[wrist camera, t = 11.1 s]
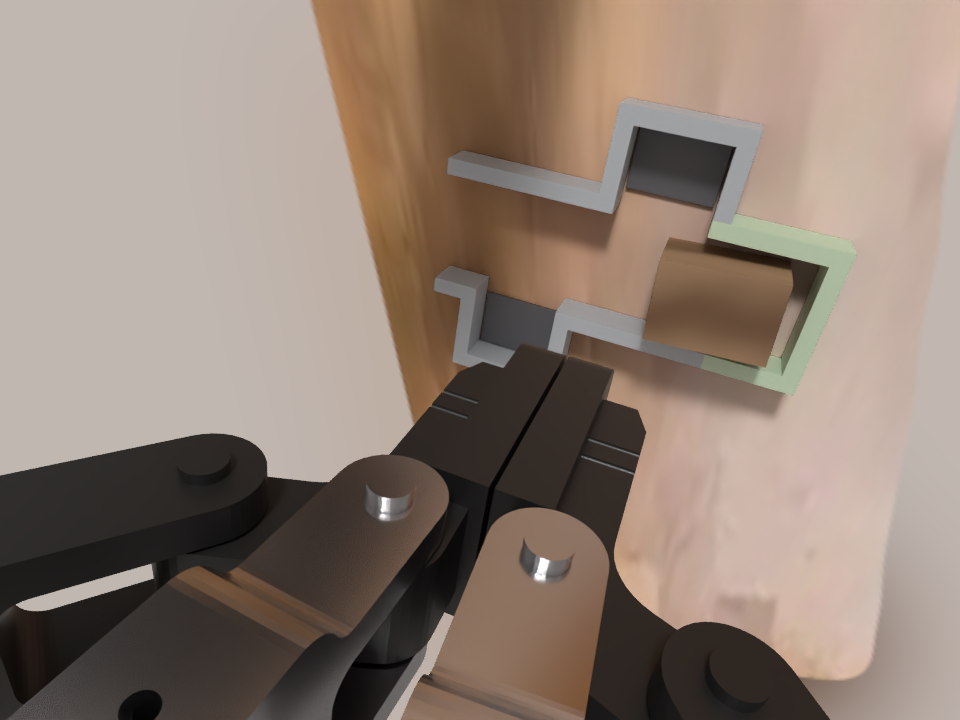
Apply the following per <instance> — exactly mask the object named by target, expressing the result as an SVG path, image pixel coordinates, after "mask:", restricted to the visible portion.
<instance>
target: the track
mask: <svg viewBox="0 0 960 720" xmlns="http://www.w3.org/2000/svg"><path fill="white" fill-rule="evenodd" d="M639 127H641V129H640V133H639V137H638V141H637V145H636V149H635V153H634V157H633V161H632V165H631V169H630V173H629V177H628V181H627V185H626V187H627V188H631V189H635V190H639V191H644V192H648V193H652V194H657V195H661V196H665V197H669V198H674V199H678V200H682V201H687V202H691V203H695V204H699V205H704V206H708V207H712V208H713V207H714V204H715V201H716V198H717V195H718V192H719V189H720V186H721V183H722V179H723V176H724V173H725V170H726V167H727V164H728V161H729V158H730V155H731V152H732V148H733V147H736V148H735V151H734V154H733V157H732V160H731V163H730V167H729V170H728V173H727V176H726V179H725V182H724V185H723V188H722V191H721V194H720V197H719V200H718V204H717V207H716V210H715V213H714V216H713V219H712V222H711V225H710V229H709V233H708V237H707V238H711V239H716V240H720V241H724V242H728V243H732V244H736V245H740V246H744V247H748V248H752V249H756V250H761V251H765V252H769V253H773V254H777V255H781V256H785V257H789V258H793V259H797V260H801V261H806V262H810V263H814V264H818V265H821V266H820V268H819V270H818V273H817V275H816V277H815V280H814V282H813V284H812V287H811V289H810V291H809V294H808V296H807V298H806V301H805V303H804V306H803V308H802V310H801V313H800V315H799V317H798V320H797V322H796V324H795V327H794V329H793V331H792V334H791V336H790V338H789V341H788V343H787V346H786V348H785V350H784V353H783V355H782V357H781V358H778V357H775V356H771V355H770V357H769V360H768V363H767V366H766V368H764V367H760V366H756V365H752V364H747V363H743V362H739V361H735V360H730V359H726V358H722V357H717V356H713V355H709V354H705V353H700V352H696V351H692V350H687V349H683V348H679V347H675V346H670V345H666V344H662V343H657V342H653V341H649V340H645V339H642V337H643V332H644V328H645V324H646V320H643V319H639V318H636V317H632V316H629V315H625V314H621V313H618V312H614V311H611V310H607V309H604V308H600V307H596V306H593V305H589V304H586V303H582V302H579V301H575V300H571V299H568V298H565V299H564V301H563V302H562V304H561V305H560V307H559V308H558V309H557V311H556V310H552V309H549V308H545V307H542V306H538V305H535V304H531V303H528V302H524V301H521V300H517V299H514V298H510V297H507V296H503V295H500V294H496V293H493V292H488V297H487V303H486V309H485V316H484V322H483V329H482V335H481V340H480V334H481V327H482V321H483V314H484V308H485V302H486V295H487V289H488V282H489V276H486V275H482V274H479V273H475V272H472V271H468V270H464V269H461V268H457V267H454V266H448V267H447V268H446V269H445V270H443V271H442V272H441V273H440V274H439V275H437V276H436V277H435V283H434V291H436V292H440V293H443V294H447V295H450V296H453V297H457V298H460V299H461V300H460V308H459V315H458V323H457V330H456V338H455V345H454V353H453V360H452V362H454V363H457V364H460V365H463V366H467V367H472V366H474V365H476V364H478V363H481V362H486V363H489V364H492V365H495V366H499V367H502V368H504V367H505V365H506V364H507V362H508V361H509V360H510V358H511V357H512V356H513V354H514V353H515V351H516V350H517V349H518V347H519V346H520V345H521V344H522V343H527V344H530V345H533V346H537V347H540V348H543V349H547V350H550V351H553V352H556V353H560V354H563V355H566V356H567V354H568V350H569V346H570V341H571V337H572V333H573V332H577V333H580V334H584V335H587V336H590V337H594V338H597V339H601V340H604V341H608V342H611V343H614V344H618V345H621V346H625V347H628V348H632V349H635V350H638V351H642V352H645V353H649V354H652V355H656V356H659V357H662V358H666V359H669V360H673V361H676V362H679V363H683V364H686V365H690V366H693V367H697V368H700V369H703V370H707V371H710V372H714V373H717V374H721V375H724V376H727V377H731V378H734V379H738V380H741V381H745V382H748V383H751V384H755V385H758V386H762V387H765V388H769V389H772V390H775V391H779V392H782V393H786V394H789V395H794V393H795V391H796V388H797V386H798V384H799V382H800V380H801V377H802V375H803V373H804V371H805V368H806V366H807V364H808V362H809V360H810V357H811V355H812V353H813V351H814V348H815V346H816V344H817V342H818V340H819V337H820V335H821V333H822V331H823V329H824V326H825V324H826V322H827V320H828V317H829V315H830V313H831V311H832V309H833V306H834V304H835V302H836V300H837V297H838V295H839V293H840V291H841V289H842V286H843V284H844V282H845V280H846V277H847V275H848V273H849V271H850V269H851V266H852V264H853V262H854V260H855V258H856V255H857V254H856V251H855V248H854V246H853V243H852V241H850V240H846V239H841V238H837V237H833V236H828V235H824V234H820V233H816V232H811V231H807V230H803V229H798V228H794V227H790V226H786V225H781V224H777V223H773V222H768V221H764V220H760V219H756V218H751V217H747V216H743V215H739V214H735V212H736V209H737V207H738V204H739V201H740V198H741V195H742V192H743V189H744V186H745V183H746V180H747V177H748V174H749V171H750V168H751V165H752V162H753V160H754V157H755V154H756V151H757V148H758V145H759V142H760V139H761V136H762V133H763V124H758V123H753V122H748V121H743V120H738V119H733V118H728V117H723V116H718V115H713V114H708V113H703V112H698V111H693V110H688V109H683V108H678V107H673V106H668V105H663V104H658V103H653V102H648V101H643V100H638V99H633V98H626V99H625V100H623V101H622V102H620V105H619V109H618V114H617V118H616V122H615V127H614V131H613V135H612V140H611V144H610V148H609V153H608V157H607V161H606V166H605V170H604V174H603V179H602V182H597V181H593V180H589V179H584V178H580V177H576V176H572V175H567V174H563V173H559V172H554V171H550V170H546V169H542V168H537V167H533V166H529V165H524V164H520V163H516V162H512V161H507V160H503V159H499V158H494V157H490V156H486V155H482V154H477V153H473V152H469V151H465V150H463V151H461V152H459V153H457V154H455V155H453V156H451V157H449V158H448V166H447V174H450V175H454V176H458V177H462V178H466V179H470V180H474V181H478V182H482V183H486V184H491V185H495V186H499V187H503V188H507V189H511V190H515V191H519V192H523V193H527V194H531V195H536V196H540V197H544V198H548V199H552V200H556V201H560V202H564V203H568V204H572V205H576V206H581V207H585V208H589V209H593V210H597V211H601V212H605V213H609V214H612V213H613V212H614V211H615V209H616V208H617V207H618V205H619V204H620V200H621V196H622V192H623V188H624V184H625V180H626V176H627V172H628V168H629V164H630V160H631V156H632V152H633V148H634V144H635V140H636V136H637V132H638V128H639Z"/></svg>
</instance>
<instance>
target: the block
mask: <svg viewBox="0 0 960 720" xmlns="http://www.w3.org/2000/svg"><path fill="white" fill-rule="evenodd" d="M792 289H793V278H792V268H791V260H786V259H780V258H775V257H770V256H764V255H759V254H754V253H749V252H743V251H738V250H733V249H728V248H722V247H717V246H712V245H707V244H701V243H696V242H691V241H686V240H680V239H675V238H670V237H669V240H668V242H667V244H666V247H665V249H664V251H663V254H662V256H661V259H660V262H659V267H658V271H657V275H656V280H655V284H654V289H653V293H652V297H651V302H650V306H649V310H648V315H647V319H646V324H645V328H644V332H643V337H642V339H645V340H649V341H653V342H657V343H662V344H666V345H670V346H675V347H679V348H683V349H687V350H692V351H696V352H700V353H705V354H709V355H713V356H717V357H722V358H726V359H730V360H735V361H739V362H743V363H747V364H752V365H756V366H760V367H764V368H766V366H767V363H768V360H769V357H770V354H771V351H772V348H773V345H774V342H775V339H776V336H777V333H778V330H779V327H780V324H781V321H782V318H783V315H784V312H785V309H786V306H787V303H788V300H789V297H790V295H791V292H792Z"/></svg>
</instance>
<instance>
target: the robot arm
mask: <svg viewBox="0 0 960 720" xmlns="http://www.w3.org/2000/svg"><path fill="white" fill-rule="evenodd" d="M613 374H614V370H613V369H610V368H607V367H603V366H600V365H597V364H593V363H590V362H587V361H584V360H580V359H577V358H574V357H569V358H568V359H567V356H566V355H563V354H560V353H556V352H553V351H550V350H547V349H543V348H540V347H537V346H533V345H530V344H527V343H522V344H521V345H520V346H519V347H518V349H517V350H516V351H515V353H514V354H513V356H512V357H511V358H510V360H509V361H508V362H507V364H506V365H505V367H504V368H502V367H499V366H495V365H492V364H489V363H486V362H481V363H478V364H476V365H474V366H472V367H470V368H467V369H465V370H463V371H461V372H458V374H457V375H456V376H455V377H454V378H453V380H452V381H451V382H450V383H449V384H448V386H447V387H446V388H445V389H444V392H443V393H441V394H440V395H439V396H438V397H437V399H436V400H435V401H434V402H433V404H432V407H429V408H428V409H427V411H426V412H425V413H424V414H423V415H422V416H421V418H420V419H419V420H418V421H417V422H416V424H415V425H414V426H413V427H412V428H411V430H410V431H409V432H408V433H407V434H406V436H405V437H404V438H403V439H402V440H401V441H400V443H399V444H398V445H397V446H396V447H395V449H394V450H393V451H392V452H391V453H390V455H378V456H371V457H367V458H363V459H360V460H358V461H355V462H353V463H352V464H350V465H348V466H347V467H345V468H344V469H343V470H342V471H340V473H338V474H337V475H336V476H335V477H334V478H333V479H332V480H331V481H330V482H323V483H322V482H309V481H300V480H291V479H282V478H273V477H267V461H266V458H265V456H264V454H263V452H262V451H261V450H260V449H259V448H258V447H257V446H256V445H254V444H253V443H251V442H250V441H248V440H245V439H243V438H240V437H237V436H233V435H227V434H200V435H194V436H189V437H185V438H180V439H174V440H170V441H165V442H160V443H155V444H150V445H146V446H141V447H136V448H131V449H126V450H121V451H117V452H112V453H107V454H102V455H97V456H92V457H88V458H83V459H78V460H74V461H68V462H63V463H59V464H54V465H49V466H44V467H39V468H35V469H30V470H25V471H20V472H15V473H11V474H6V475H1V476H0V720H387V718H388V716H389V715H390V713H391V712H392V710H393V708H394V707H395V705H396V704H397V702H398V701H399V699H400V697H401V696H402V694H403V693H404V691H405V689H406V688H407V686H408V685H409V683H410V681H411V680H412V678H413V677H414V675H415V673H416V672H417V670H418V669H419V667H420V665H421V664H422V662H423V660H424V657H425V653H426V649H427V643H428V641H429V640H430V638H431V636H432V635H433V633H434V631H435V629H436V627H437V625H438V623H439V621H440V619H441V617H442V616H443V614H444V612H446V613H448V614H450V615H453V616H454V618H453V620H452V623H451V625H450V628H449V630H448V633H447V635H446V638H445V640H444V643H443V645H442V648H441V650H440V653H439V655H438V658H437V660H436V662H435V665H434V667H433V669H432V671H431V673H430V674H429V676H428V675H426V674H424V675H423V676H422V677H421V678H420V680H419V681H418V683H417V685H416V687H415V688H414V691H413V693H412V695H411V697H410V699H409V702H408V704H407V706H406V708H405V711H404V713H403V716H402V718H401V720H830V719H829V718H828V716H827V715H826V714H825V712H824V711H823V710H822V708H821V707H820V705H819V704H818V703H817V702H816V700H815V699H814V698H813V696H812V695H811V694H810V692H809V691H808V689H807V688H806V687H805V685H804V684H803V683H802V681H801V680H800V679H799V677H798V676H797V675H796V673H795V672H794V671H793V670H792V668H791V667H790V666H789V665H788V664H787V662H786V661H785V660H784V659H783V658H782V657H781V656H780V655H779V654H778V653H777V652H776V651H775V650H773V649H772V648H771V647H769V646H768V645H767V644H765V643H764V642H763V641H761V640H760V639H758V638H756V637H755V636H753V635H751V634H749V633H747V632H745V631H743V630H741V629H738V628H735V627H732V626H729V625H726V624H721V623H715V622H699V623H693V624H689V625H686V626H684V627H682V628H680V629H678V630H676V629H675V628H673V627H672V626H671V625H669V624H668V623H666V622H665V621H663V620H662V619H661V618H659V617H658V616H656V615H655V614H653V613H652V612H651V611H649V610H648V609H647V608H646V607H644V606H643V605H642V604H641V603H640V602H639V601H638V600H637V599H636V598H635V597H634V596H633V595H632V594H631V593H630V591H629V590H628V589H627V588H626V586H625V585H624V583H623V581H622V580H621V578H620V576H619V574H618V571H617V569H616V565H615V561H614V547H615V542H616V538H617V535H618V531H619V527H620V524H621V520H622V517H623V513H624V510H625V506H626V502H627V499H628V495H629V492H630V488H631V485H632V481H633V478H634V474H635V470H636V467H637V463H638V460H639V456H640V453H641V449H642V445H643V442H644V438H645V435H646V431H645V428H644V425H643V423H642V420H641V418H640V415H639V412H638V410H636V409H633V408H630V407H627V406H623V405H620V404H617V403H614V402H611V401H607V396H608V393H609V389H610V386H611V382H612V378H613ZM148 564H152V570H153V576H154V579H151V580H148V581H144V582H141V583H138V584H135V585H131V586H128V587H124V588H121V589H118V590H115V591H111V592H108V593H104V594H101V595H98V596H94V597H91V598H88V599H84V600H81V601H78V602H75V603H71V604H68V605H64V606H61V607H58V608H54V609H51V610H46V611H27V610H24V609H21V608H19V607H18V606H16V605H15V604H17V603H20V602H22V601H24V600H27V599H30V598H34V597H37V596H40V595H44V594H48V593H51V592H55V591H58V590H61V589H65V588H69V587H72V586H75V585H79V584H82V583H86V582H89V581H93V580H96V579H99V578H103V577H106V576H110V575H113V574H117V573H120V572H124V571H127V570H131V569H134V568H137V567H141V566H145V565H148Z"/></svg>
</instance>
